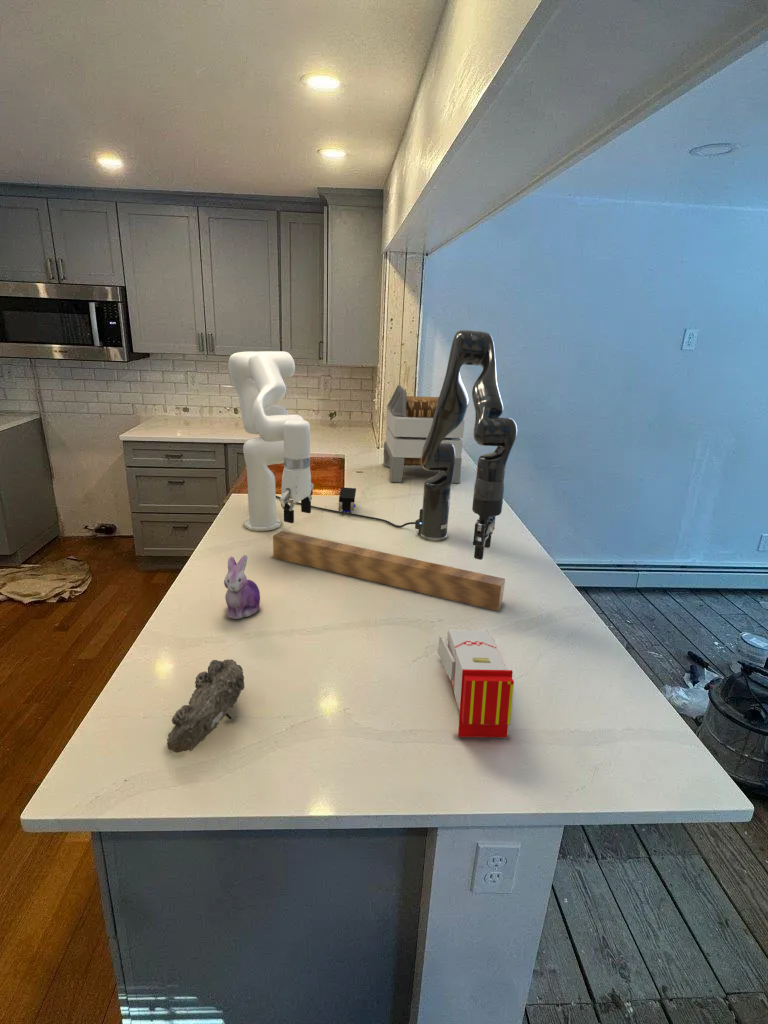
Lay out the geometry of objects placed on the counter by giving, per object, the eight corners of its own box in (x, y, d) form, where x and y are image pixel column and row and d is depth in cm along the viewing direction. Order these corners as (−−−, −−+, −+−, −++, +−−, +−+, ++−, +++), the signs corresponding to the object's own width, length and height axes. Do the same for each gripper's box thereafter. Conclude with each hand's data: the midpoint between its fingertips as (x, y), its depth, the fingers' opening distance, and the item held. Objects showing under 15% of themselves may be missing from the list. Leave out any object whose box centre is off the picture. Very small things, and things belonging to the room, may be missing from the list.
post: (501, 603, 155) (505, 578, 153) (498, 611, 151) (501, 586, 149) (282, 552, 181) (281, 530, 178) (273, 557, 177) (272, 535, 174)
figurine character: (355, 520, 214) (356, 503, 227) (355, 502, 211) (356, 486, 224) (337, 519, 214) (339, 502, 227) (337, 501, 210) (339, 485, 224)
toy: (488, 613, 130) (523, 677, 101) (484, 667, 133) (517, 744, 104) (435, 612, 130) (455, 676, 101) (432, 666, 133) (451, 743, 103)
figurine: (229, 624, 139) (226, 568, 134) (220, 605, 148) (216, 552, 142) (266, 616, 143) (265, 562, 138) (255, 598, 152) (254, 546, 147)
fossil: (192, 660, 117) (244, 628, 112) (224, 691, 120) (276, 661, 115) (142, 746, 98) (202, 712, 93) (182, 779, 101) (242, 748, 96)
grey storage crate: (382, 463, 289) (386, 382, 275) (445, 464, 293) (451, 384, 279) (390, 482, 257) (394, 392, 243) (460, 483, 261) (468, 394, 247)
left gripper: (301, 454, 174) (301, 506, 180) (269, 467, 159) (270, 524, 165) (322, 457, 172) (322, 511, 178) (292, 471, 157) (293, 528, 163)
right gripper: (480, 485, 153) (475, 541, 159) (467, 500, 141) (461, 559, 146) (508, 490, 151) (501, 546, 156) (497, 505, 138) (490, 565, 144)
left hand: (297, 517), depth 171 cm, fingers open, 9 cm apart
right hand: (482, 552), depth 151 cm, fingers open, 8 cm apart
